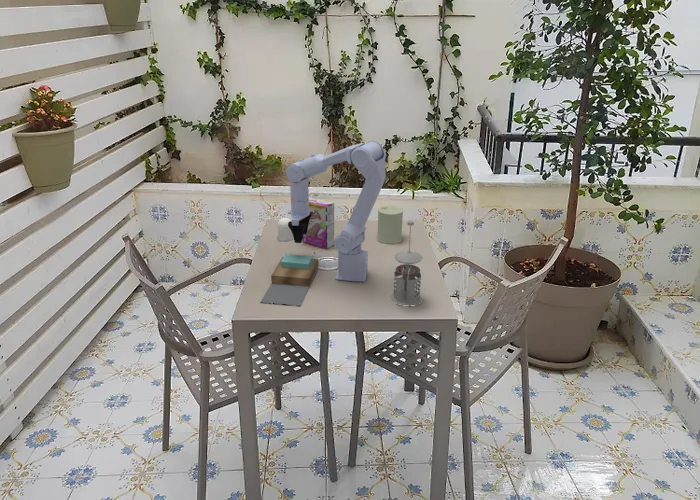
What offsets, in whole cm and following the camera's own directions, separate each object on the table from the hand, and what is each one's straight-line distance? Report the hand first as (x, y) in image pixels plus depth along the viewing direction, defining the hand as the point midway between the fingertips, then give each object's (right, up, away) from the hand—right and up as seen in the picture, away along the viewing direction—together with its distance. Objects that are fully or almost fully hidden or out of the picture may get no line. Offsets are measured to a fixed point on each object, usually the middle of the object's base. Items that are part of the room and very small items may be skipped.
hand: (301, 238), depth 187 cm
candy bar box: (+5, -2, +19) cm, 20 cm away
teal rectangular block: (-1, -9, -4) cm, 9 cm away
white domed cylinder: (-8, 0, +24) cm, 25 cm away
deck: (-1, -12, -4) cm, 13 cm away
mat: (-3, -17, -16) cm, 24 cm away
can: (+31, 0, +24) cm, 39 cm away
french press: (+33, -19, -18) cm, 42 cm away
